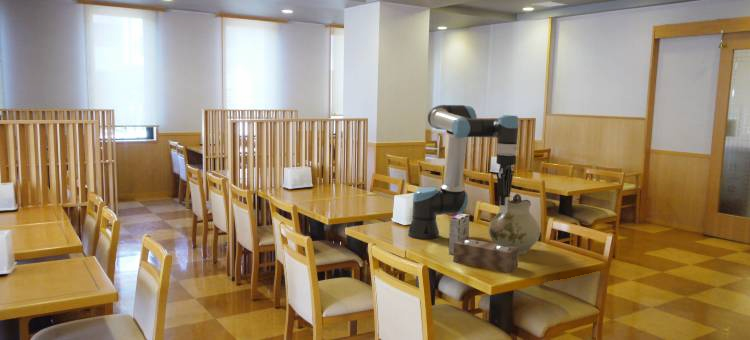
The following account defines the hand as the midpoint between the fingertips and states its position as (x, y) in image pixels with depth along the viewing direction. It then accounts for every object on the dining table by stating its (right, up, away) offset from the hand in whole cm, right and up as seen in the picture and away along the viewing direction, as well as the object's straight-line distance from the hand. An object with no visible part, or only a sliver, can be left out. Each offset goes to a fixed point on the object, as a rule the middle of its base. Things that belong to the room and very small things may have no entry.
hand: (503, 212), depth 229 cm
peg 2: (0, -21, +2) cm, 21 cm away
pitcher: (+10, -19, +28) cm, 36 cm away
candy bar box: (-15, -19, +23) cm, 34 cm away
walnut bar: (-6, -22, +6) cm, 23 cm away
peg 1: (-12, -20, +10) cm, 25 cm away
